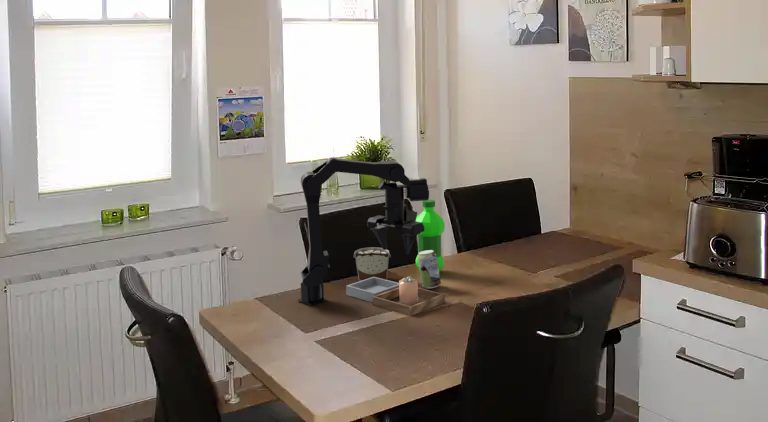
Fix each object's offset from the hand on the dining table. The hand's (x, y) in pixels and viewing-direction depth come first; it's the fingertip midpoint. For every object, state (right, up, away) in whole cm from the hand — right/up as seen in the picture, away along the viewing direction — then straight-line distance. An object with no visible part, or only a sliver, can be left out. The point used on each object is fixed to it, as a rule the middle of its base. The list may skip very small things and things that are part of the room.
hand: (396, 251), depth 247 cm
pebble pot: (+4, -15, -6) cm, 17 cm away
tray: (-7, -13, +4) cm, 15 cm away
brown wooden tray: (+4, -15, -6) cm, 17 cm away
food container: (-7, -10, +20) cm, 24 cm away
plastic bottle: (+12, -9, +24) cm, 28 cm away
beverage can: (+11, -12, +9) cm, 18 cm away
